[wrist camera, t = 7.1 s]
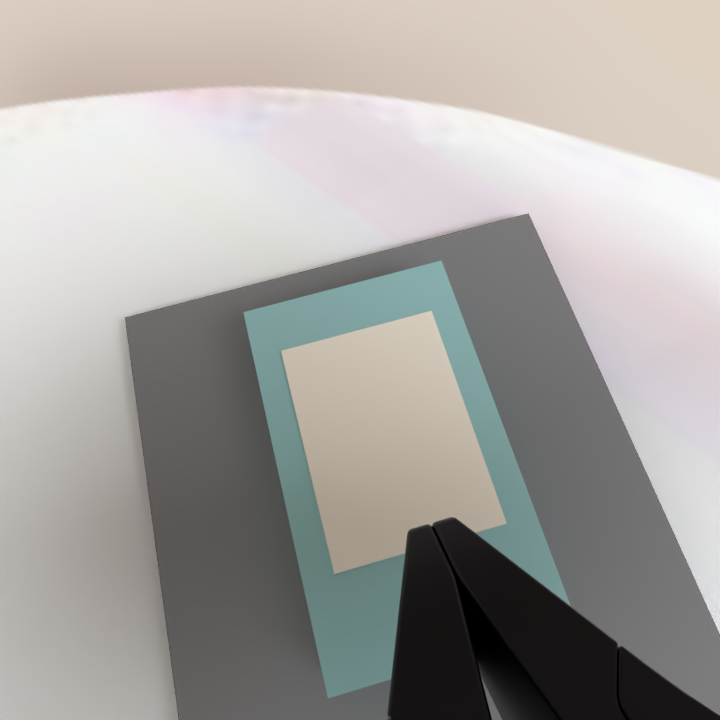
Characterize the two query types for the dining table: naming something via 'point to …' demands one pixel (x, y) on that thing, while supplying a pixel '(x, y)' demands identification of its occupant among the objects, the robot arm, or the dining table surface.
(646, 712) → the robot arm
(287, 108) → the dining table surface
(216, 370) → the mat
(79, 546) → the dining table surface
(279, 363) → the card box
